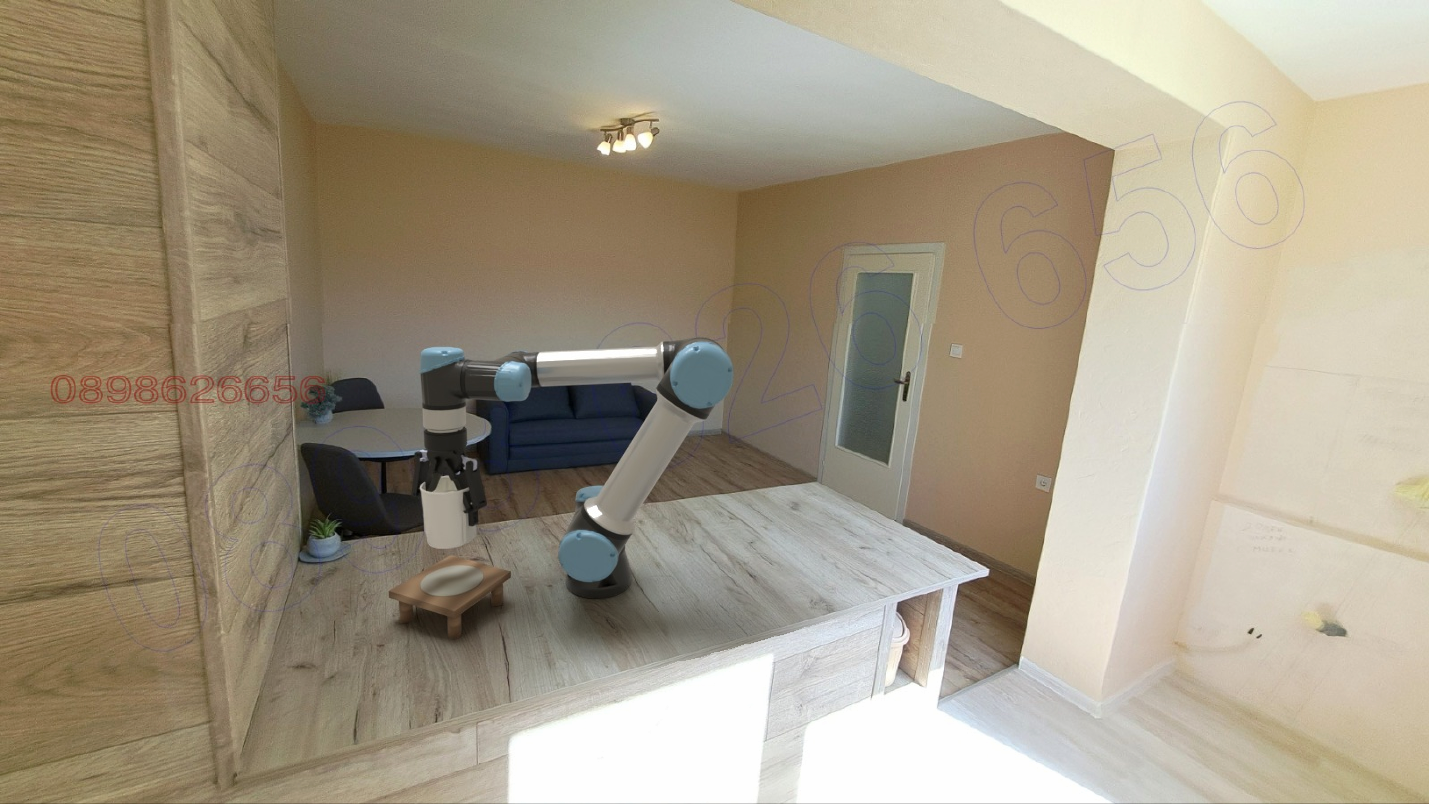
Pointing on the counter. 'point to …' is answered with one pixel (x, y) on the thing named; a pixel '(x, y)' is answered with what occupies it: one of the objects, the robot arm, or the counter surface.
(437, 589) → the footstool
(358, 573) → the counter surface
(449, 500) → the candle holder
